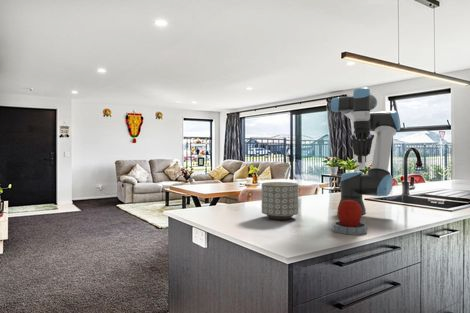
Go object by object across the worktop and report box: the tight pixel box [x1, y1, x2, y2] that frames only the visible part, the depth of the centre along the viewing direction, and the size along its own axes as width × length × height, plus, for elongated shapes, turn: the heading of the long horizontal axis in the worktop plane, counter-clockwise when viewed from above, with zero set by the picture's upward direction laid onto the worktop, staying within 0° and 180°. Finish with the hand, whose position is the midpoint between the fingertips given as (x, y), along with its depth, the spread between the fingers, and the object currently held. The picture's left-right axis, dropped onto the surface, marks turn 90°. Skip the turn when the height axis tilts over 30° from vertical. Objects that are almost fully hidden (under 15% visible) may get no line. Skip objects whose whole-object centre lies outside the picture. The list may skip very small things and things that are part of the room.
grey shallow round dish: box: [332, 220, 368, 236], centre depth 148 cm, size 14×14×3 cm
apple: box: [337, 197, 363, 227], centre depth 148 cm, size 10×10×14 cm
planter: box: [261, 181, 299, 221], centre depth 177 cm, size 19×19×18 cm
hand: (362, 169), depth 164 cm, fingers closed
